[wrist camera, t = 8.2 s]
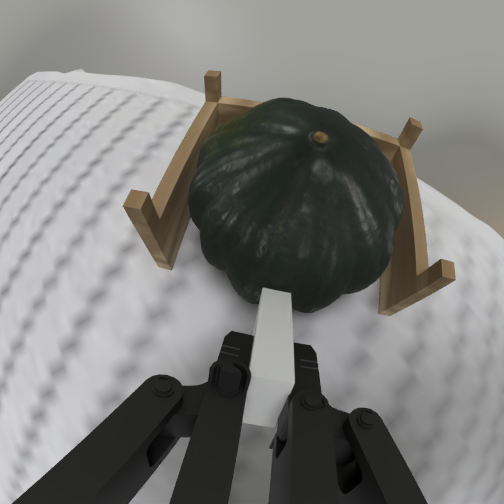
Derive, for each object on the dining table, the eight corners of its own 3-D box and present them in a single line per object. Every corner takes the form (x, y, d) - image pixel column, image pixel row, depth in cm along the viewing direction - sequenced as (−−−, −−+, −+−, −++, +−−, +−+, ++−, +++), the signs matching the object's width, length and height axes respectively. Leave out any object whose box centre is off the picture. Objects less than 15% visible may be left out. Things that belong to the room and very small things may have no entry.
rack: (385, 178, 29) (420, 121, 21) (390, 315, 22) (455, 280, 14) (212, 138, 29) (208, 70, 21) (158, 266, 23) (122, 206, 14)
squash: (320, 111, 25) (246, 17, 11) (430, 222, 20) (482, 200, 7) (229, 207, 30) (110, 191, 17) (316, 320, 26) (233, 395, 13)
